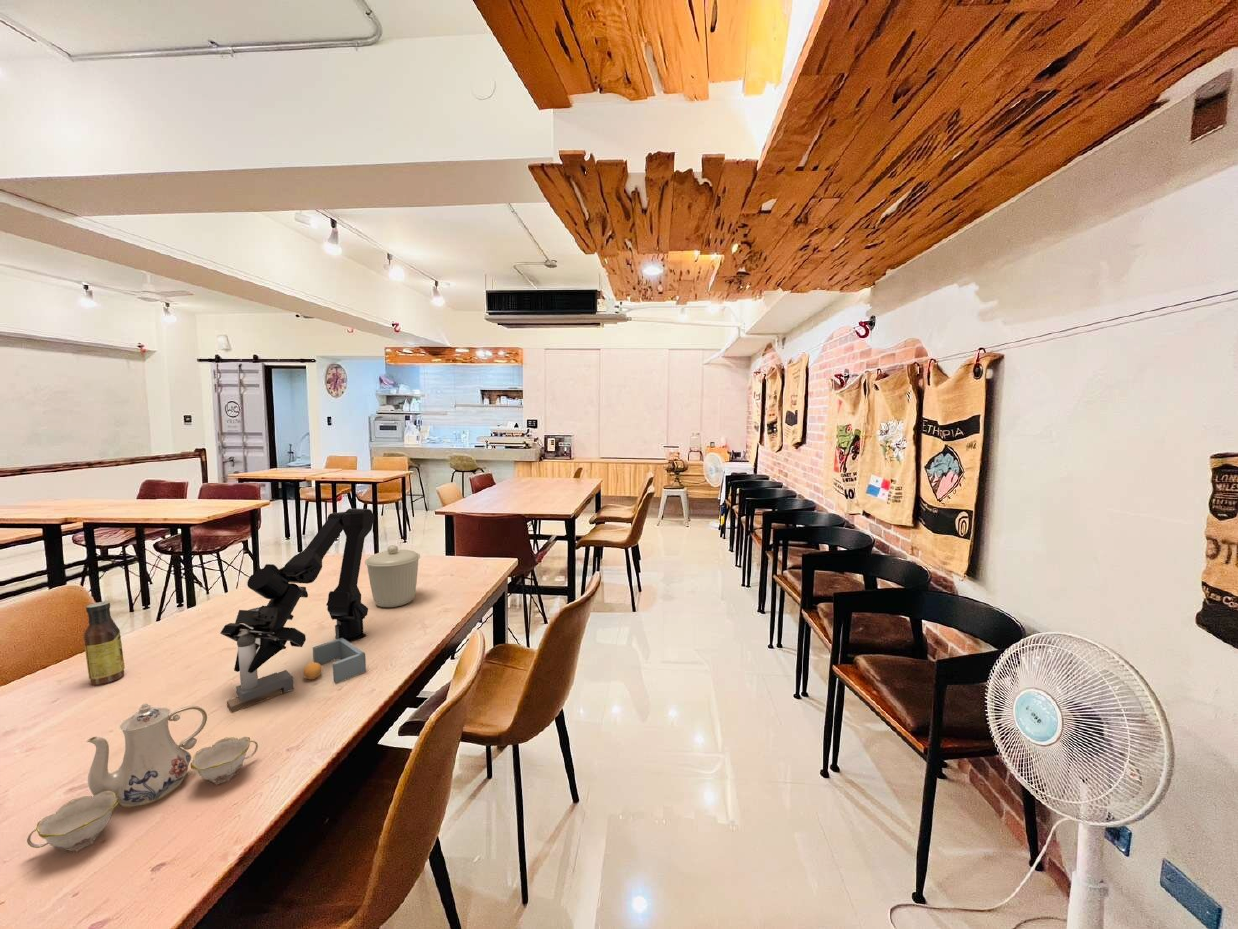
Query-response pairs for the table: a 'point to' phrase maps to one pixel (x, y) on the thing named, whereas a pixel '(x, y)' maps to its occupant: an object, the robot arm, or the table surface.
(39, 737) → the table surface
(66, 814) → the chinaware
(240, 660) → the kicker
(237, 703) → the rail
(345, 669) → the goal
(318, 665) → the ball
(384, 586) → the canister
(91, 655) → the sauce bottle
